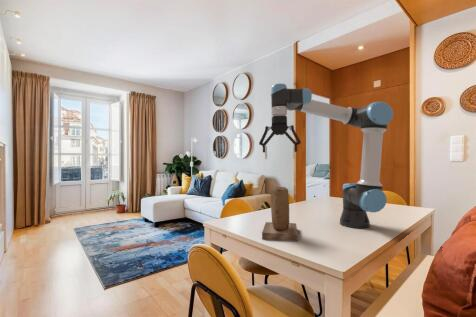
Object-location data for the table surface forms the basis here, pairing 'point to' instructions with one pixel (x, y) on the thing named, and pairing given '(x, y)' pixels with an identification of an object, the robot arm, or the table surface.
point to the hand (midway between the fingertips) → (279, 159)
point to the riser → (279, 232)
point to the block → (280, 208)
